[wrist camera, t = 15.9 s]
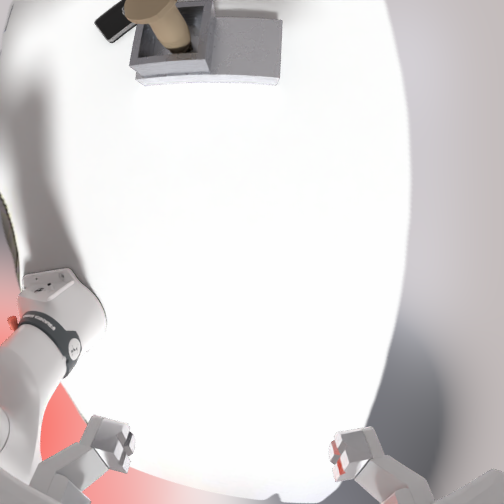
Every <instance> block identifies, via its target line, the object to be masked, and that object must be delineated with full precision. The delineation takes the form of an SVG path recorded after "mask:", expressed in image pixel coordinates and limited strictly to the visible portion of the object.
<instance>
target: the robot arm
mask: <svg viewBox="0 0 504 504" xmlns="http://www.w3.org/2000/svg"><path fill="white" fill-rule="evenodd" d="M63 275H64V276H63ZM17 308H18V313H19V317H20V322H19V324H18V323H17V318H16V316H12V317H9V319H8V320H7V321H8V323H9V325H10V329H11V330H14V333H12V334H11V335H10V336H9V337H8V339H6V340H5V341H4V342H3V343H2V344H1V345H0V504H91V501H90V499H89V498H88V497H87V496H86V495H84V494H83V493H82V491H83V490H85V489H86V488H87V487H88V486H90V485H91V484H92V483H93V482H95V481H96V480H97V479H98V478H99V477H101V476H102V475H103V474H104V473H105V472H107V471H108V469H111V470H115V471H119V472H123V473H127V472H128V469H129V465H130V462H131V461H130V459H129V457H128V456H130V455H131V454H133V452H134V448H135V438H134V435H133V434H132V433H131V432H130V431H129V430H130V426H129V424H128V423H124V422H119V421H115V420H111V419H107V418H105V417H101V416H97V415H93V416H92V417H91V419H90V421H89V423H88V425H87V427H86V429H85V431H84V434H83V436H82V438H81V440H80V442H79V443H78V442H76V443H74V444H72V445H70V446H69V447H67V448H65V449H64V450H62V451H60V452H58V453H57V454H55V455H53V456H51V457H49V458H48V459H46V460H44V461H42V457H41V452H40V435H41V426H42V421H43V415H44V412H45V409H46V406H47V404H48V402H49V400H50V398H51V396H52V395H53V393H54V391H55V389H56V388H57V386H58V384H59V383H60V381H61V380H62V379H63V378H65V377H67V375H68V374H69V373H70V372H71V370H72V369H73V367H74V366H75V364H76V362H77V360H78V359H79V358H80V357H81V356H82V355H83V354H84V353H85V352H88V351H89V350H90V349H91V347H92V345H93V344H94V343H95V342H96V341H98V340H99V339H100V338H102V336H103V335H104V333H105V331H106V317H105V313H104V310H103V308H102V306H101V304H100V302H99V301H98V299H97V298H96V296H95V295H94V294H93V293H92V292H91V291H90V290H89V289H88V288H87V287H86V286H84V285H83V284H82V283H81V282H80V281H79V280H78V279H77V277H76V276H75V274H74V273H73V272H72V270H71V269H69V268H63V269H57V270H50V271H44V272H38V273H32V274H27V275H25V276H24V277H23V279H22V292H21V293H20V294H19V296H18V299H17ZM334 438H335V440H334V441H332V442H331V444H330V446H329V458H330V462H332V463H333V464H334V465H335V466H334V467H333V469H332V470H333V474H334V478H335V482H338V481H344V480H350V479H354V480H355V481H357V483H359V484H360V485H361V486H362V487H363V488H364V489H365V490H366V491H368V493H370V494H371V495H372V496H373V497H374V498H375V499H376V500H378V501H379V502H380V503H381V504H504V472H502V471H500V470H496V469H491V470H489V471H487V472H486V473H484V474H482V475H481V476H479V477H478V478H476V479H475V480H473V481H471V482H470V483H468V484H466V485H465V486H463V487H461V488H459V489H458V490H456V491H454V492H452V493H450V494H448V495H447V496H445V497H443V498H441V499H439V500H437V501H435V499H434V497H433V495H432V492H431V490H430V488H429V486H428V483H427V481H426V479H425V478H423V477H421V476H420V475H418V474H417V473H415V472H413V471H412V470H410V469H409V468H407V467H406V466H404V465H403V464H401V463H399V462H398V461H396V460H395V459H393V458H392V457H390V456H389V455H386V456H385V454H384V452H383V449H382V447H381V445H380V442H379V440H378V438H377V435H376V433H375V431H374V428H373V427H365V428H358V429H353V430H347V431H341V432H337V433H336V434H335V436H334Z"/></svg>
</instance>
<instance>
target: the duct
mask: <svg viewBox="0 0 504 504" xmlns="http://www.w3.org/2000/svg"><path fill="white" fill-rule="evenodd" d="M175 6H176V7H177V9H178V10H179V12H180V14H181V15H182V17H183V18H184V20H185V22H186V23H187V26H188V28H189V31H190V35H191V42H192V48H191V49H189V50H187V51H186V52H185V53H181V54H172V53H171V52H170V51H169V50H168V49H166V48H165V47H164V46H163V45H162V44H161V43H160V41H159V40H158V39H157V37H156V35H155V33H154V32H153V30H152V28H151V26H150V25H149V24H137V27H136V32H135V36H134V41H133V47H132V52H131V58H130V64H129V66H130V67H131V68H132V69H134V70H135V71H136V79H135V80H137V81H138V82H139V83H141V84H142V85H144V86H150V85H161V84H175V83H201V82H225V83H252V84H266V85H277V83H278V81H279V79H280V64H281V43H282V20H276V19H264V18H248V17H216V13H215V8H214V3H213V0H201V1H187V2H177V3H176V4H175Z"/></svg>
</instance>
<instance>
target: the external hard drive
mask: <svg viewBox="0 0 504 504" xmlns="http://www.w3.org/2000/svg"><path fill="white" fill-rule="evenodd" d="M125 1H126V0H121V1H120V2H118V3H117V4H116V5H114V6H113V7H112V8H110V9H109V10H108V11H106V12H105V13H104V14H103V15H101V16H100V17H99V18H98V19H96V20H95V22H94V24H95V25H96V26H97V28H98V29H99V31H100V32H101V33H102V35H103V36H104V37H105V39H106V40H107V41H109V42H110V43H114V42H115V41H116V40H118V39H119V38H120V37H121V36H123V35H124V34H125V33H127V32H128V31H129V30H131V29H132V28H133V27H135V26H136V25H137V24H135V23H133V22H131V21H129V20H128V19H127V18H126V17H125V11H124V5H125Z"/></svg>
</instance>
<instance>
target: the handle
mask: <svg viewBox="0 0 504 504" xmlns="http://www.w3.org/2000/svg"><path fill="white" fill-rule="evenodd" d="M176 2H177V0H126V1H125V5H124V11H125V17H126V18H127V19H128V20H129V21H131V22H133V23H135V24H149V25H150V26H151V28H152V30H153V32H154V33H155V35H156V37H157V39H158V40H159V41H160V43H161V44H162V45H163V46H164V47H165V48H166V49H168V50H169V51H170V52H171V53H172V54H181V53H185V52H186V51H187V50H189V49H191V48H192V42H191V35H190V31H189V28H188V26H187V23H186V22H185V20H184V18H183V17H182V15H181V14H180V12H179V10H178V9H177V7H176V6H175V4H176Z"/></svg>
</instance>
